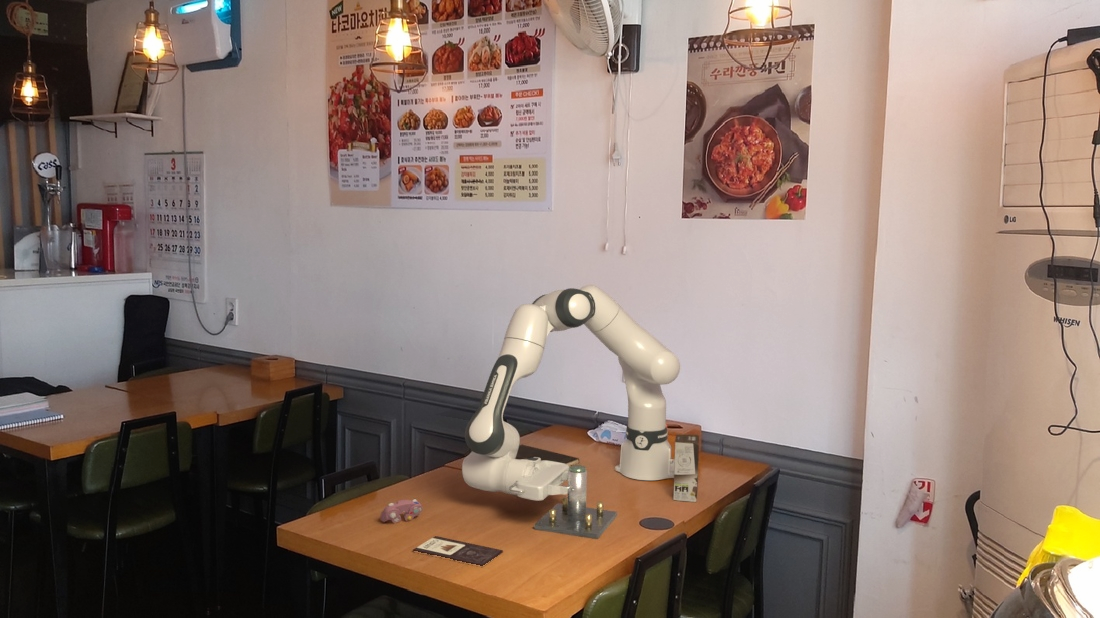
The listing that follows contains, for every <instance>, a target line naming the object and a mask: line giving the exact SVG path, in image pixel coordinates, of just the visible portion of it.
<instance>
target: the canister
mask: <svg viewBox="0 0 1100 618" xmlns="http://www.w3.org/2000/svg"><path fill="white" fill-rule="evenodd" d="M587 477H588V470H587V467H586V466H585V465H581V464H574V465H572V466H569V470H568V481H567V486H568V487H569V492H568V493H567V497H568V510H567V518H568V519H569V520H571V521H583V520H585V514H586V507H587V486H588V485H587V484H588V483H587V482H588V478H587Z"/></svg>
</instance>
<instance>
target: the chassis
mask: <svg viewBox="0 0 1100 618" xmlns="http://www.w3.org/2000/svg"><path fill="white" fill-rule="evenodd" d="M567 510H568V496H563V497H562V502H561V503H558V502H557V504H555V505H554V506H553V507H552V508H549V511H547V512H546V513H545V514H544V515H543V516H542V517H541V518H540V519H539V520H538V521H537V522H535V523H534V524H533V525H534V528H533V529H534V530H536V531H543V532H547V533H548V532H550V533H556V534H562V535H569V536H575V537H581V538H588V539H589V538H590V539H594V540H598V539H599V538H600V537H601V536H602V534H604V533H605V531H606V529H608V527H610V525H611V524H612V523H613V522H614V521H615V519H616V518H617V516H618V511H614V510H608V509H607V510H606V509H604V502H603V501H597V502H596V508H592V507H587V506H586V514H585V520H583V521H571V520H569V519H568V518H567Z"/></svg>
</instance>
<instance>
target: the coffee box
mask: <svg viewBox="0 0 1100 618" xmlns="http://www.w3.org/2000/svg"><path fill="white" fill-rule="evenodd" d="M699 438H700V435H698V434H675V438H674V439H675V440H674V478H673V499H672V500H673V501H680V502H691V503H697V499H698V489H699V465H700V463H699V461H700V459H699V458H700V439H699Z"/></svg>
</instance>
